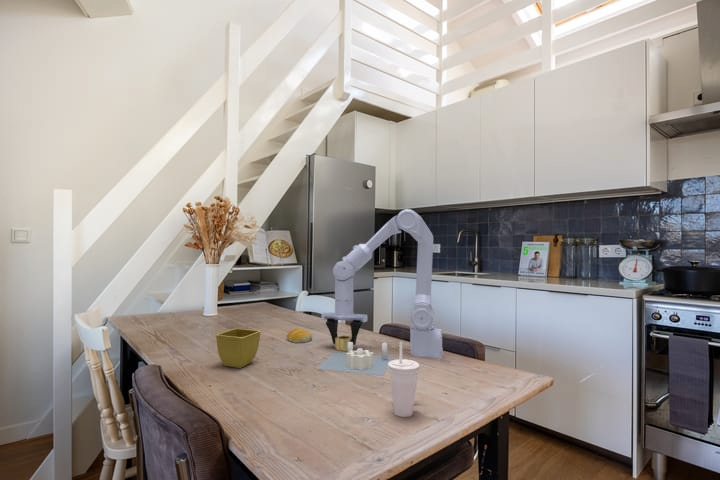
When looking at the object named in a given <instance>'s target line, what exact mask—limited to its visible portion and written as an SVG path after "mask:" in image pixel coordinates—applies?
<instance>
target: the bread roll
mask: <svg viewBox="0 0 720 480" xmlns="http://www.w3.org/2000/svg"><path fill="white" fill-rule="evenodd" d="M286 339H287V341H288V342H292V343H293V344H302V343H303V344H304V343H309V342H310V341H312V339H313V336H312V333H311V332H309V331H308V330H307V331H306V330H304V329H302V328H301V327H300V328H299V327H297V328H293V329H291V330H289V331H288V333H287V334H286Z"/></svg>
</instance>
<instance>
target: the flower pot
mask: <svg viewBox="0 0 720 480" xmlns="http://www.w3.org/2000/svg"><path fill="white" fill-rule="evenodd" d="M215 337H216V344H217V352H218V356H219V358H220V361H221V362H222V364H223V365H224V366H225V367H231V368H237V369H241V368H243V367H246V366H247V365H249V364H251V363H252V362H253V360H254V359H255V356H256V355H257V353H258V349H259V344H260V337H261V330H255V329H247V328H246V329H245V328H236V327H235V328H233V329H230V330H225V331H223V332H220V333H217V334H216V335H215Z"/></svg>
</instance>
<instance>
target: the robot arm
mask: <svg viewBox="0 0 720 480" xmlns="http://www.w3.org/2000/svg"><path fill="white" fill-rule="evenodd" d="M402 230H403V231H404V232H405V233H408V234H409V235H410V236H411V237H412V238H413V239H414V240H415V241H416V242H417V255H416V256H417V257H416V278H415V298H414V307H413V310H412V312H411V315H410V321H411V324H410V328H409V329H410V331H409V333H410V335H409V337H410V343H409V344H410V346H409V348H410V351H409V353H410V355H411V356H414V357H418V358H432V359H433V358H434V359H439V363H441V361H442V358H443V354H444V350H443V349H444V348H443V330H442V329H441V328H437V327H436V326H435V324H434V323H433V321H434V309H433V307H432V304H431V303H432V281H433V280H432V279H433V278H432V277H433V257H434V256H433V255H434V252H433V251H434V235H433V233H432V231H431V230H430V229H429V227H428V225H427V224H426V222H425V221H424V219H423V218H422V216H421V215H419V213H417V212H416V211H414V210H412V209H410V208H406V209H403V210H401V211H400V212H399V213H398V214H397V215H395V216H393V217H392V218H390V220H388V221H387V222H386V223H385V224H384V225H383V226H382V227H381V228H380V229H379V230H378V231H377V232H376V233H375V234H374V235H373V236H372V237H371V238H369V240H368V241H367V242H366V243H359V244H358V245H353V247H352V250H351V251H350V252H349V253H348V254H347V255H345V256H343V257H342V258H341V261H338V262H336V264H334V266H333V268H332V274H333V277H334V281H335V282H334V283H335V284H334V312H321V320H322V321H324V320H326V321H325V326H326V327H327V329H328V331H329V334H330V337H331V340H332V345H335V337H337V336H338V326H339V321H348V322H350V323H349V324H350V331H351V337H352V339H351V342H353V346H355V345H356V344H357V338H358V335H359V332H360V330H361V329H360V328H361V327H362V326H363V323H366V322H368V314H362V313H355V312H354V276H355V274H356V272H358V271H359V270H360V269H361V268H363V267H364V266H365V265H366V264H367V263H368V262H369V261H370V260H372V258H373V252H374V251H375V250H376V249H377V248H378V247H379V246H381V244H384V242H385V241H386V240H388V238H390V237H391V236H392V235H397V234H400V233H402Z"/></svg>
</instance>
